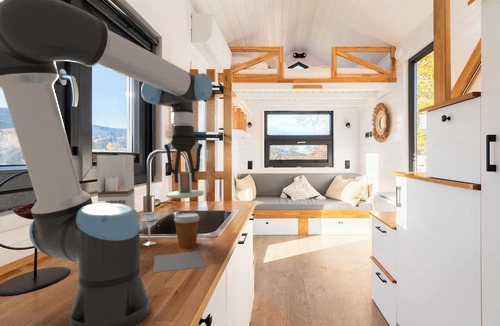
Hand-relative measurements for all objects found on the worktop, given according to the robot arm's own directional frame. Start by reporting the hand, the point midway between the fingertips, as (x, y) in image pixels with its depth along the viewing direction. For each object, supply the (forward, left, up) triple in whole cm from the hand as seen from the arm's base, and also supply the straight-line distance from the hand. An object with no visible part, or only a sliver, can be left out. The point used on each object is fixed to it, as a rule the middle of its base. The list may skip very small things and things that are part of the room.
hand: (185, 191), depth 102 cm
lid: (0, 0, -1) cm, 1 cm away
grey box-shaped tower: (-25, +19, -22) cm, 38 cm away
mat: (-3, -10, -21) cm, 24 cm away
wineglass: (-13, +14, -22) cm, 29 cm away
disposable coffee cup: (+1, +6, -22) cm, 22 cm away
